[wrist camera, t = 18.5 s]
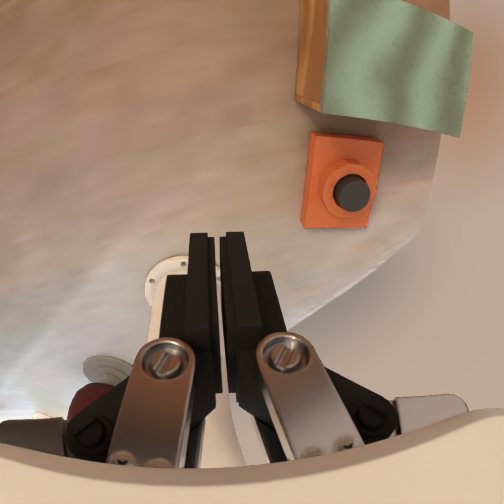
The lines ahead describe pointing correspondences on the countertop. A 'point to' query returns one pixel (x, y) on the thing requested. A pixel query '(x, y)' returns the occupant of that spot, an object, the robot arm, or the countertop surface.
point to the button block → (338, 178)
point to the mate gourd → (98, 381)
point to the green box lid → (395, 65)
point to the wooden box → (311, 52)
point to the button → (352, 193)
